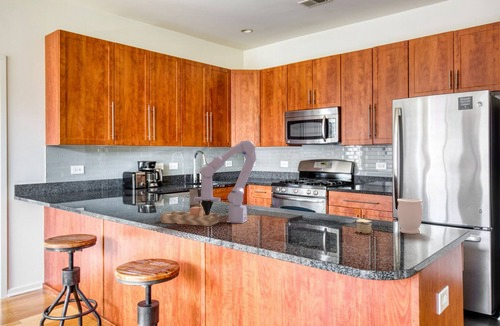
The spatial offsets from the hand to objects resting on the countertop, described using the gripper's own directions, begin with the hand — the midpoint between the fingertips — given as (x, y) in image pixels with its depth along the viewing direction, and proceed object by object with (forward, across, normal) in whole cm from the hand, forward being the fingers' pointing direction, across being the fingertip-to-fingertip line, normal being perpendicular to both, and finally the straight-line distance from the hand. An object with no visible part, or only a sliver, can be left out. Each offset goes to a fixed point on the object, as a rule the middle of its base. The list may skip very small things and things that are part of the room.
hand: (207, 214), depth 195 cm
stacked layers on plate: (+5, +78, +3) cm, 78 cm away
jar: (+4, +98, +8) cm, 99 cm away
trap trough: (+4, -10, 0) cm, 11 cm away
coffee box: (+5, -16, +19) cm, 25 cm away
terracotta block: (+1, -6, 0) cm, 6 cm away
